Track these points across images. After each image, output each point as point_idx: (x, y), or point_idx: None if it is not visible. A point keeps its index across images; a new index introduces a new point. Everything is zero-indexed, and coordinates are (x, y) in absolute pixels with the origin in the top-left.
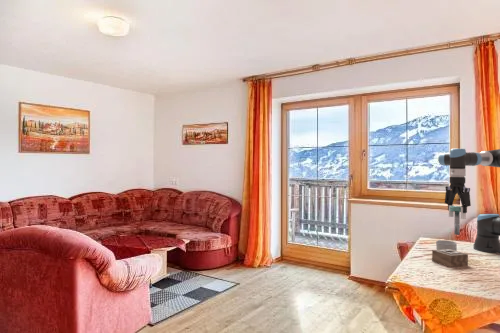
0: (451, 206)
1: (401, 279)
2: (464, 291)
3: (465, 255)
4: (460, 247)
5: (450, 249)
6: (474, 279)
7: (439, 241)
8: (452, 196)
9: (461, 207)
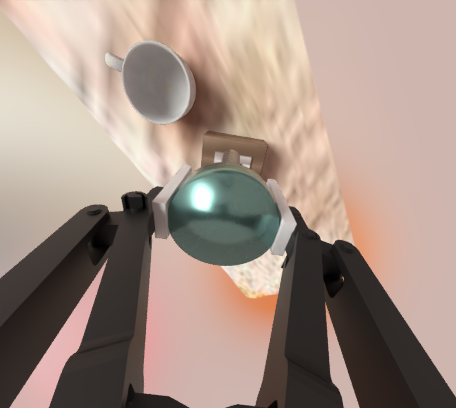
0: (194, 248)
1: (252, 290)
2: None
3: (264, 154)
4: None
5: (210, 138)
6: (313, 218)
7: (126, 81)
8: (144, 324)
9: (276, 252)
